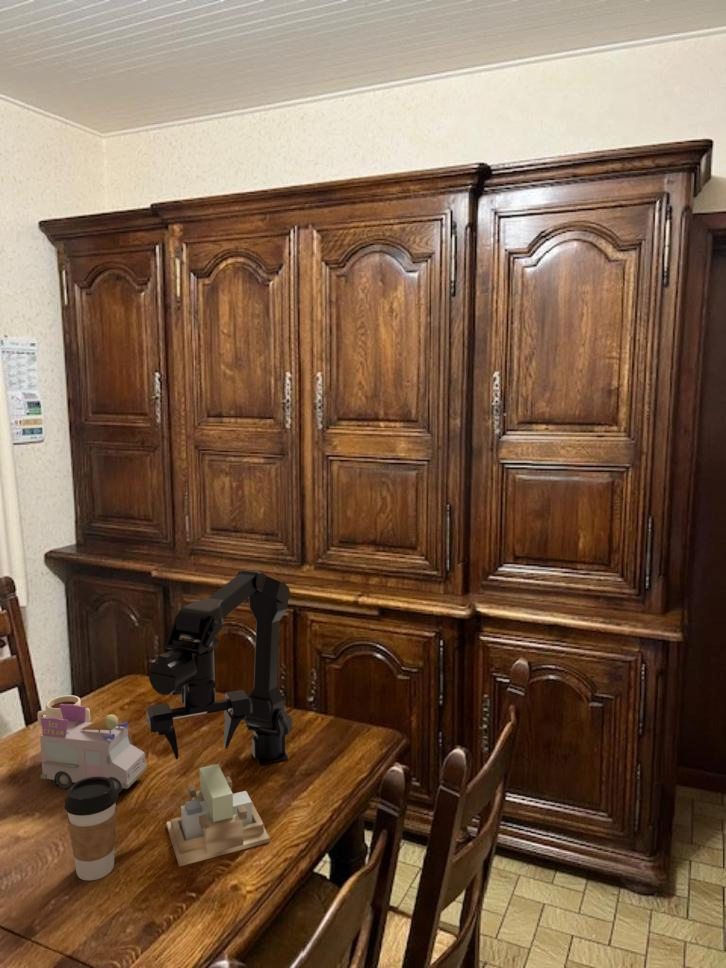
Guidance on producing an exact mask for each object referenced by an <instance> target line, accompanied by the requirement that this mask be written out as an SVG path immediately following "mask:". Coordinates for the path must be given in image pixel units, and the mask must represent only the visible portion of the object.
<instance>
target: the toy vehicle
mask: <svg viewBox="0 0 726 968" xmlns="http://www.w3.org/2000/svg"><path fill="white" fill-rule="evenodd" d="M86 708H87V707H86V706H85V705H82V706H78V705H72V704H69V705H64V704H60V709H61V712H62V716H63V719H59V718H46V717H44V716H42V718H41V724H42V725H41V729H42V731H41V732H42V734H41V735H40V736H39V738H40V739H39V742H40V754H41V756H40V757H41V769H42V770H41V771H42V773H41V774H40V779H41V780H52V782H53V784H52V785H54V786H56V785H58V787H59V788H61V789H69V788H70V787H71V786H72V785H73V784H74V783H76V782H78V781H80V780H82V779H85V778H89V777H97V776H98V777H106V778H109V779H111V780H112V781H113V782H114V786H115V788H116V790H117V794H118V795H119V794H120V793H121V792H122V791H123V790H124V789H125V790H127V789H129V788H130V787H131V786H132V785H133V784H134V783H135V782H136V781H137V780H138V779H139V778H140V777H141V775H143V773H144V772H146V770H147V769H148V764H146V752H144V751H143V750H142V749H139V747H137V746H135V745H133V744H132V735H131V734H130V735H129V731H128V727H129V721H126V722H125V721H124V722H123V723H122V722H121V723H119V718H118V717H117V715H116V714H112V713H110V714H107V715H105V716H103V717H101V718H99V719H97V720H95V721H94V722H91V721H90V722H86Z"/></svg>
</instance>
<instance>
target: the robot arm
mask: <svg viewBox="0 0 726 968" xmlns="http://www.w3.org/2000/svg"><path fill="white" fill-rule="evenodd" d="M290 596H291V591H290V588H289V585H287V583H286V582H285V581H281V580H277V579H275V578H272V577H270V576H268V575H266V574H265V573H264V572H261V571H260V570H251V569H242V570H239V571H238V573H237V574H236V576H234V577H233V578H232V579H230V580H229V581H228V582H227V583H226V584H224V585H223V586H222V587H220V588H219V589H218V590H217V591H215V592H214V593H213V594H212V595H210V596H209V597H207V598H205V599H203V600H197V601H193V602H190V603H189V604H186V605H185V606H183V607H181V608H180V609H179V610H178V611H177V613H176V616H175V618H174V620H173V622H172V626H171V628H170V631H169V634H168V637H167V639H166V641H165V644H164V648H165V649H168V650H169V651H167V652H165V653H162V654H159V655H158V656H157V663H155V664H153V665H152V666H151V668H150V671H149V673H148V679H149V684H150V686H151V687H152V688H153V690H154V691H155V692H156V693H158V694H159V695H162V696H168V695H170V696H177V695H179V696H180V702H181V704H182V705H183V706H181V707H175V708H171V706H170V704H169V702H166V703H160V704H154V705H150V706H148V708H147V709H146V721H147V725H148V727H149V730H150V732H151V733H157V734H158V735H159V736H164V737H165V738H166V740H167V742H168V744H169V745H170V748H171V750H172V752H173V754H174V757H175V760H179V747H178V741H177V740H178V739H177V735H176V729H175V726H174V720H179V719H185V718H191V717H196V716H197V717H198V716H200V715H201V716H202V715H207V714H211V713H218V712H223V711H224V714H223V715H224V727H223V747H224V750H228V749H229V745H230V744H231V741H232V739H233V736H234V734H235V732H236V730H237V728H238V726H239V725H240V723H241V721H242V720H244V723H245V726H246V729H247V731H253V736H251V754H252V756H253V759H255V760H256V762H257V763H258V765H260V766H263V765H268V764H272V763H276V762H282V761H286V760H288V759H289V756H288V754H287V752H286V735H289V734H290V730H291V729H292V724H293V718H292V717H291V716H290V715H289V714H288V712H286V711H285V706H284V705H285V701H284V698H283V696H282V694H281V692H280V690H279V687H278V665H279V664H278V662H279V640H280V639H279V638H280V637H279V636H280V622H281V621H280V620H281V619H282V618H283V616H284V615H285V613H286V612H287V610H288V606H289V601H290ZM246 600H248V602H249V609H250V611H251V613H252V615H253V618H254V619H255V621H256V626H255V627H256V628H255V648H254V649H255V650H254V672H253V673H254V674H253V675H254V677H253V678H254V679H253V688H252V690H251V691H250V693H249V694H248V693H247V692H246V691H245V690H244V689H239V690H233V691H228V692H227V691H226V692H225V695H224V699H220V700H216V681H215V680H216V678H215V677H216V676H215V652H214V650H215V649H214V648H215V647H216V646H217V645H220V643H221V640H220V639H219V638H217V637H216V636H217V634H218V633H219V632H220V631H221V630H222V629H223V628H224V620H225V618H226V617H227V616H229V615H230V614H231V613H232V612H233V611H235V610H236V609H237V608H238V607H239V606H240V605H242V604H243V603H244V602H245V601H246ZM180 638H183V639H180ZM185 639H191V640H193V641H191V640H185Z"/></svg>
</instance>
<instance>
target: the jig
mask: <svg viewBox="0 0 726 968" xmlns="http://www.w3.org/2000/svg"><path fill="white" fill-rule="evenodd" d="M224 777H225V779H226V781H227V783H228V785H229V787H230V789H231V790H232V789H233V781H232V779H231V776H224ZM196 788H197V787H196V786H195V784H190V785H187V794H188V797H189V799H191V800H196V799H199V802H201V801H204V798H203V796H202V793H201V791H200V789H199V790H197V789H196ZM259 814H260V813H258V811H257V809H256V807H255V805H254V802H252V824H249V825H245V826H243V819H247V811H246V809H245V807H244V805H242V806H238V807H237V814H235V815H233V818H229V819H225V820H221V821H217V822H213V820H211V821H209V820H208V818H207V815H206V814H205V815H201V816H199V824H200V826H201V829H202V830H203V829H204V836H202V837H198V838H194V839H190V840H186V841H185V839H184V836H183V833H182V817H181V816H180V817H179V816H178V817H174V818H171V819H170V821H166V828H167V831H168V835H169V837H170V838H169V839H170V841H171V844H172V848H173V851H174V854H175V857H176V861H177V865H178V867H183V866H186V865H190V864H194V863H197V862H201V861H205V860H208V859H211V858H216V857H220V856H224V855H227V854H231V853H235V852H239V851H241V850H245V849H249V848H253V847H254V848H255V847H257V846H260V845H263V844H265V845H266V844H268V843H270V842H271V838H270V836H269V834H268V832H267V830H266V827H265V826H264V825H265V824H264V823H263V822H264V821H263V820H262V818H261V816H260V815H259Z"/></svg>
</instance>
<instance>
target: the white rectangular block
mask: <svg viewBox="0 0 726 968" xmlns="http://www.w3.org/2000/svg"><path fill="white" fill-rule="evenodd" d="M252 803H253V800H251V797H250V796H249V794H248V792H247V790H244V791H238V792H235V793H233V815H235V814H237V807H238V806H242V805H244V807H245V809H246V811H247V819H243V826H245V825H249V824H252ZM180 812H181V814H180V815H181V816H180V817H182V833H183V836H184V839H185V841H186V840H190V839H194V838H198V837H202V836H204V829H203V830H202V829H201V826H200V824H199V816H201V815H205V814H206V815H207V818H208V820H209V821H211V820H212V817H211V815H210V813H209V810H208V808H207V805H206V803H205V801H201V802H199V799H196V800H192V799H191V800H188V801H184V805H181V806H180Z"/></svg>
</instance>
